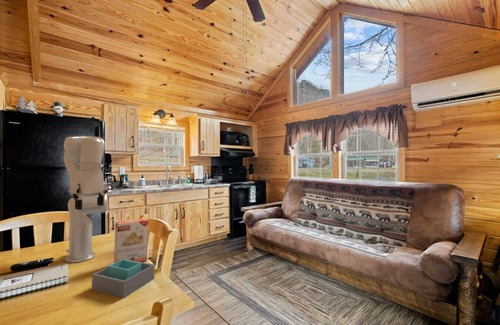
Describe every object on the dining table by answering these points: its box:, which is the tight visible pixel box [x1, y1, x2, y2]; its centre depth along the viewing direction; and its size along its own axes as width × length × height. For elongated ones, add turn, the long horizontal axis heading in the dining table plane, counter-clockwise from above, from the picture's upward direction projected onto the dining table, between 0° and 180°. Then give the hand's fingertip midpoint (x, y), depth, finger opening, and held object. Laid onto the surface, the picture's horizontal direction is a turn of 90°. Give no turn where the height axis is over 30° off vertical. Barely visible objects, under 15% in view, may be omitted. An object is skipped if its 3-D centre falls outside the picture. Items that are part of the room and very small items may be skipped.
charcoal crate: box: [91, 259, 156, 299], centre depth 99 cm, size 16×16×6 cm
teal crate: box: [107, 259, 141, 280], centre depth 99 cm, size 10×7×7 cm
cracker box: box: [113, 218, 149, 264], centre depth 119 cm, size 14×6×21 cm, turn 129°
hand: (89, 207), depth 103 cm, fingers open, 9 cm apart
